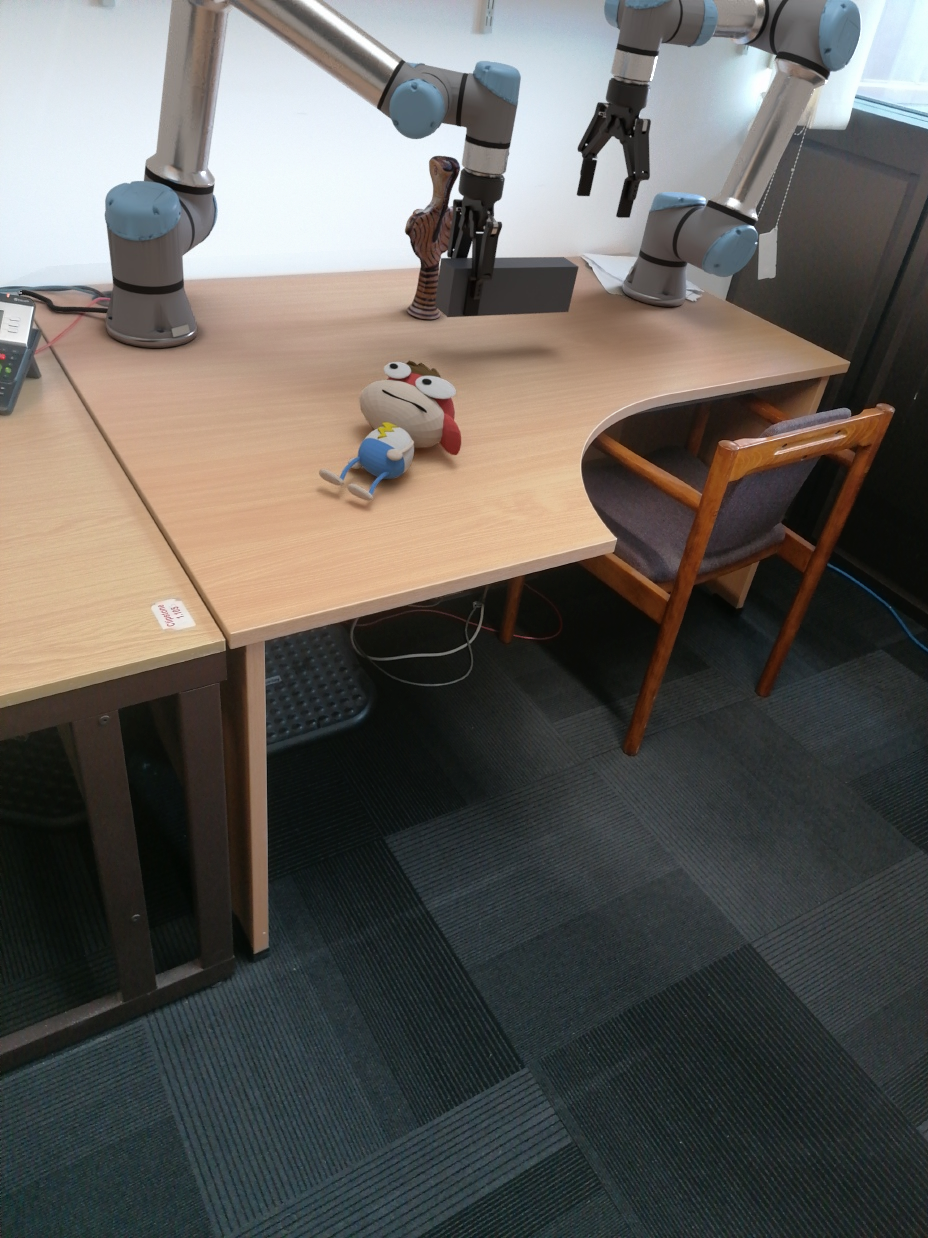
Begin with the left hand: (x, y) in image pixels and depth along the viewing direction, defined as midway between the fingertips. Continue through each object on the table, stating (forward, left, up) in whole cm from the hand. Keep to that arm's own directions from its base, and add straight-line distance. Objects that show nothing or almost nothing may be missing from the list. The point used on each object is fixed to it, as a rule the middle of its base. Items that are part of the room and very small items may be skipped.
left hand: (462, 308), depth 163 cm
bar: (+6, +6, -1) cm, 9 cm away
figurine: (-12, +17, -9) cm, 23 cm away
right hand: (+18, +28, +16) cm, 37 cm away
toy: (+3, -43, -9) cm, 44 cm away
